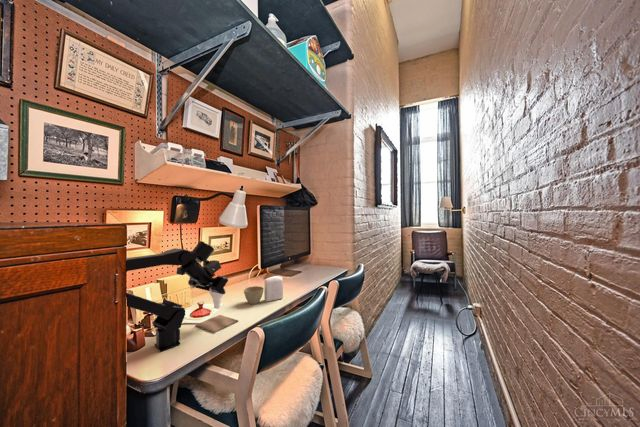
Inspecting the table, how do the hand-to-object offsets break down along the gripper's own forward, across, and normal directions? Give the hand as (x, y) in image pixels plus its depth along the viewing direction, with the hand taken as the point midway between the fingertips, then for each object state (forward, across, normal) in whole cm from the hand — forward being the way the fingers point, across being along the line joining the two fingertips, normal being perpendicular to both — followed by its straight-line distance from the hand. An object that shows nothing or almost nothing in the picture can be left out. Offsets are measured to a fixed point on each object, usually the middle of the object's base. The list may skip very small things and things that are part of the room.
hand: (219, 292), depth 110 cm
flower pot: (+26, +4, -8) cm, 28 cm away
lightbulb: (+4, 0, +6) cm, 7 cm away
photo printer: (+33, -2, -15) cm, 36 cm away
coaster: (+8, -1, +10) cm, 13 cm away
